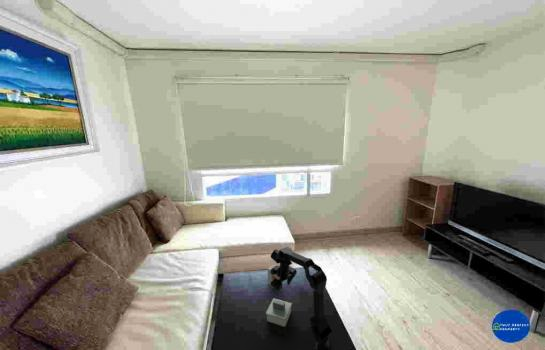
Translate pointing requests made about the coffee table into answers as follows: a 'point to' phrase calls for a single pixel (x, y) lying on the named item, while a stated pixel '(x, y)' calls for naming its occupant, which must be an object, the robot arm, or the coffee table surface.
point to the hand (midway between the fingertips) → (283, 288)
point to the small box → (270, 276)
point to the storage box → (277, 320)
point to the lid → (279, 309)
